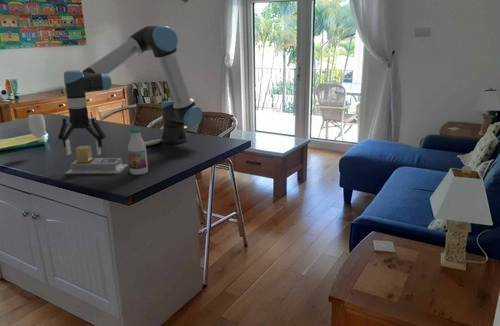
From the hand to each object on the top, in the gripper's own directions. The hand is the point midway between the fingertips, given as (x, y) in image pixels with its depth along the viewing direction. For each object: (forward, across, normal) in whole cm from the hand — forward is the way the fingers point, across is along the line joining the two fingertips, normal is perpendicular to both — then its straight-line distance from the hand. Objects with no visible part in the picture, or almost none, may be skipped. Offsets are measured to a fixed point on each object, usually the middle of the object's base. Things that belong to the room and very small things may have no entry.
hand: (84, 154), depth 181 cm
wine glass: (+8, +32, -23) cm, 40 cm away
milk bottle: (+8, -25, +4) cm, 27 cm away
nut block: (+7, 0, 0) cm, 7 cm away
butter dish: (+7, -5, 0) cm, 9 cm away
